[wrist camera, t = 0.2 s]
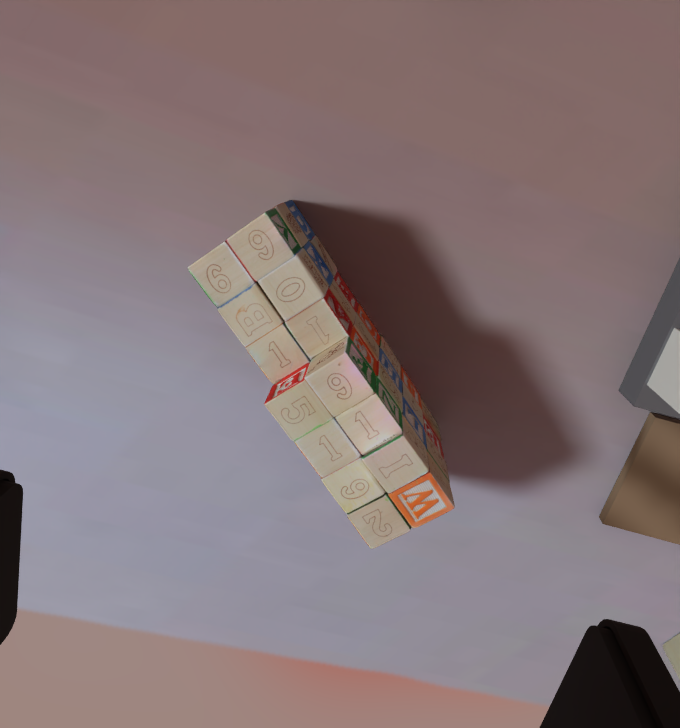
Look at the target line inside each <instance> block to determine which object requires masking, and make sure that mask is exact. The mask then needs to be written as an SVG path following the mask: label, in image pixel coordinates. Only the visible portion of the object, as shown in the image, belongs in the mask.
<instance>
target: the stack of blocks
mask: <svg viewBox="0 0 680 728" xmlns="http://www.w3.org/2000/svg"><path fill="white" fill-rule="evenodd" d="M188 270H189V272H190V273H191V274H192V276H193V277H194V278H195V280H196V281H197V282H198V284H199V285H200V286H201V288H202V289H203V290H204V292H205V293H206V295H207V296H208V297H209V299H210V300H211V301H212V302H213V304H214V305H215V306H217V310H218V312H219V313H220V315H221V316H222V317H223V319H224V320H225V321H226V323H227V324H228V325H229V327H230V328H231V329H232V331H233V332H234V333H235V335H236V336H237V337H238V339H239V340H240V342H241V343H242V344H243V346H245V347H246V350H247V351H248V353H249V354H250V356H251V357H252V358H253V360H254V361H255V362H256V364H257V365H258V366H259V367H260V369H261V370H262V371H263V373H264V374H265V375H266V377H267V378H268V379H269V380H270V381H271V382H272V383H273V384H274V385H273V386H272V388H271V390H270V393H269V395H268V396H267V399H266V401H265V404H264V405H265V406H266V407H267V409H268V410H269V411H270V413H271V414H272V415H273V417H274V418H275V419H276V421H277V422H278V423H279V424H280V426H281V427H282V428H283V430H284V431H285V432H286V434H287V435H288V436H289V438H290V439H291V440H292V441H294V442H295V444H296V445H297V446H298V448H299V449H300V451H301V452H302V453H303V455H304V456H305V457H306V459H307V460H308V461H309V462H310V464H311V465H312V467H313V468H314V469H315V471H316V472H317V473H318V474H319V476H321V480H322V482H323V483H324V485H325V486H326V487H327V489H328V490H329V492H330V493H331V494H332V496H333V497H334V498H335V500H336V501H337V502H338V504H339V505H340V506H341V508H342V509H343V510H344V512H345V513H347V516H348V518H349V520H350V521H351V522H352V524H353V525H354V527H355V528H356V529H357V531H358V532H359V534H360V535H361V536H362V538H363V539H364V540H365V542H366V543H367V545H368V546H369V547H370V548H371V549H374V548H376V547H378V546H380V545H382V544H384V543H386V542H388V541H390V540H392V539H394V538H396V537H399V536H401V535H403V534H405V533H407V532H409V531H410V529H411V527H412V528H416V527H419V526H421V525H423V524H425V523H427V522H429V521H431V520H433V519H435V518H437V517H439V516H441V515H443V514H445V513H447V512H448V511H450V510H452V509H454V508H455V505H454V501H453V496H452V492H451V488H450V484H449V483H450V481H449V476H448V471H447V465H446V462H445V460H444V455H443V451H442V446H441V436H440V432H439V428H438V425H437V423H436V421H435V420H434V418H433V417H432V415H431V414H430V412H429V410H428V409H427V407H426V406H425V404H424V402H423V401H422V399H421V398H420V394H419V393H418V391H417V390H416V388H415V387H414V385H413V383H412V382H411V380H410V379H409V377H408V376H407V374H406V373H405V371H404V369H403V368H402V367H401V365H400V363H399V362H398V360H397V358H396V357H395V355H394V354H393V352H392V350H391V349H390V347H389V346H388V344H387V343H386V341H385V340H384V338H383V337H382V336H381V335H379V333H378V332H377V330H376V328H375V327H374V325H373V324H372V323H371V321H370V319H369V318H368V316H367V315H366V313H365V312H364V310H363V309H362V307H361V305H360V304H358V303H357V301H356V299H355V298H354V296H353V294H352V293H351V291H350V290H349V288H348V287H347V285H346V284H345V282H344V281H343V279H342V278H341V276H340V274H339V273H338V272H337V267H336V265H335V264H334V262H333V261H332V259H331V258H330V256H329V254H328V253H327V251H326V250H325V248H324V247H323V245H322V244H321V242H320V241H319V239H318V238H317V236H316V235H315V234H314V233H313V231H312V229H311V228H310V226H309V225H308V223H307V221H306V220H305V218H304V217H303V215H302V214H301V212H300V211H299V209H298V208H297V206H296V205H295V203H294V202H293V201H292V200H289V201H287V202H284V203H281V204H279V205H277V206H275V207H274V208H272V209H270V210H268V211H266V212H265V213H263V214H262V215H261V216H259V217H258V218H256V219H255V220H253V221H252V222H251V223H249V224H248V225H246V226H245V227H244V228H242V229H241V230H239V231H238V232H236V233H235V234H234V235H232V236H231V237H229V238H228V239H227V240H226V241H225V242H223V243H222V244H220V245H219V246H217V247H216V248H215V249H213V250H212V251H210V252H209V253H207V254H206V255H205V256H203V257H202V258H200V259H199V260H197V261H196V262H195V263H193V264H192V265H190V266H189V267H188Z"/></svg>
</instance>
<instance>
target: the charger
mask: <svg viewBox="0 0 680 728" xmlns="http://www.w3.org/2000/svg"><path fill="white" fill-rule="evenodd" d="M647 385H648V386H649V387H650V388H651V389H652V390H653V391H654V392H655V393H657V394H658V395H659V396H660V397H661V398H662V399H663V400H664V401H665V402H667V403H668V404H669V405H670V406H671V407H672V408H673V409H674V410H675V411H677V412H678V413H679V414H680V329H677V328H674V329H673V331H672V333H671V335H670V337H669V339H668V342H667V344H666V346H665V348H664V350H663V352H662V354H661V356H660V358H659V360H658V362H657V364H656V367H655V369H654V371H653V373H652V375H651V377H650V379H649V381H648V383H647Z"/></svg>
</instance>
